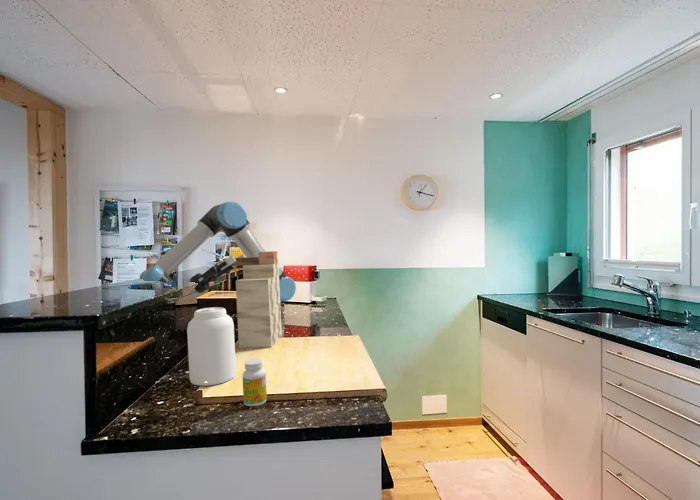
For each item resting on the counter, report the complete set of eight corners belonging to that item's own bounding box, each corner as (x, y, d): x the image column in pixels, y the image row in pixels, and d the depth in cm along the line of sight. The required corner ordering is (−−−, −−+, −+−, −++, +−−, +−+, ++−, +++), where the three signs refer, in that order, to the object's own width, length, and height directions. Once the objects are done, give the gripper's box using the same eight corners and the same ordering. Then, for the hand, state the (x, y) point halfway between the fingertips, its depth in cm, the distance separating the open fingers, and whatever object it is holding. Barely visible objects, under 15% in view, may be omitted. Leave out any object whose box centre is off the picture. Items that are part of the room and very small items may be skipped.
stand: (253, 336, 157) (249, 264, 156) (281, 335, 156) (278, 263, 156) (238, 348, 139) (235, 267, 138) (271, 347, 138) (267, 265, 138)
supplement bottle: (239, 406, 88) (237, 365, 88) (249, 397, 93) (247, 358, 93) (262, 407, 87) (260, 365, 87) (270, 397, 92) (268, 358, 92)
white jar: (179, 383, 105) (176, 311, 105) (214, 369, 116) (211, 304, 116) (211, 389, 99) (208, 314, 99) (245, 374, 110) (242, 306, 110)
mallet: (227, 265, 155) (226, 253, 155) (277, 263, 154) (277, 251, 154) (221, 266, 149) (221, 253, 149) (274, 264, 148) (273, 251, 148)
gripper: (213, 289, 165) (253, 263, 164) (186, 297, 140) (234, 267, 139) (203, 275, 165) (244, 249, 164) (175, 280, 140) (223, 250, 139)
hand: (239, 257), depth 152 cm, fingers open, 12 cm apart
